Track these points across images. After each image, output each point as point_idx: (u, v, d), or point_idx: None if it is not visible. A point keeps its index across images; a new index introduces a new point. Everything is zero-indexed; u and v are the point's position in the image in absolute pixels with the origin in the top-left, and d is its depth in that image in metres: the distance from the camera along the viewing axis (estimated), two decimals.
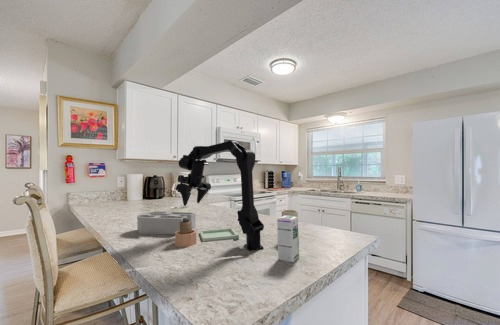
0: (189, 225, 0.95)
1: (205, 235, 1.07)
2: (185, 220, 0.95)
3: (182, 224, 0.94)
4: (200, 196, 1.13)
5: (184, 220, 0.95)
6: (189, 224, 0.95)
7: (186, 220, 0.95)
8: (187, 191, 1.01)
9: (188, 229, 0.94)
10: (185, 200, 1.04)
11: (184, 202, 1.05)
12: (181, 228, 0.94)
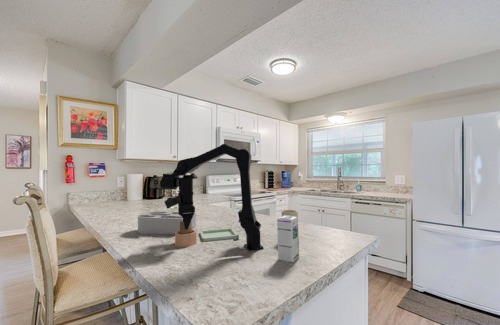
0: (189, 225, 0.95)
1: (205, 235, 1.07)
2: None
3: (182, 224, 0.94)
4: None
5: None
6: None
7: None
8: (194, 210, 0.90)
9: (188, 229, 0.94)
10: (188, 222, 0.91)
11: (186, 225, 0.91)
12: (181, 228, 0.94)
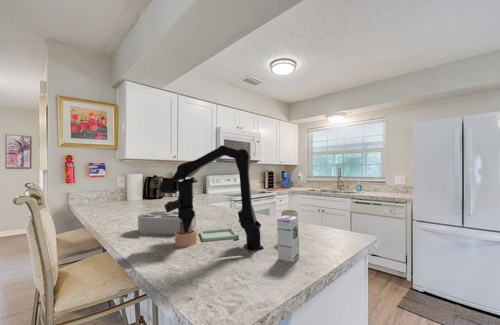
0: None
1: (205, 235, 1.07)
2: None
3: (182, 224, 0.94)
4: None
5: None
6: None
7: None
8: (194, 214, 0.90)
9: (188, 229, 0.94)
10: (188, 225, 0.93)
11: (186, 228, 0.93)
12: (181, 228, 0.94)
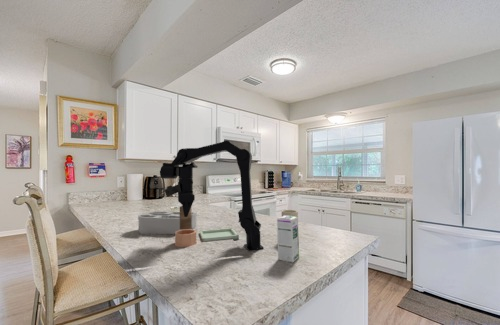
0: None
1: (205, 235, 1.07)
2: None
3: (182, 209, 0.94)
4: None
5: None
6: None
7: None
8: None
9: (188, 214, 0.95)
10: (188, 210, 0.93)
11: (186, 212, 0.93)
12: (181, 213, 0.94)
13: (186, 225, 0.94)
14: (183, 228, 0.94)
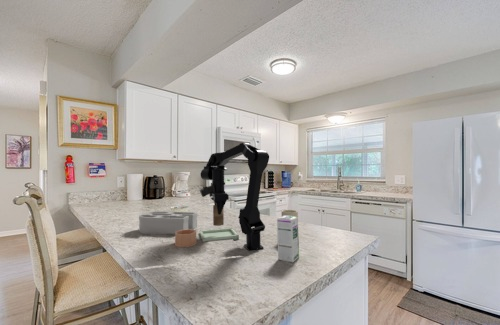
0: None
1: (205, 235, 1.07)
2: None
3: (216, 207, 1.05)
4: None
5: None
6: None
7: None
8: None
9: (221, 212, 1.06)
10: (221, 208, 1.04)
11: (219, 210, 1.04)
12: (215, 211, 1.05)
13: (219, 222, 1.05)
14: (217, 224, 1.05)
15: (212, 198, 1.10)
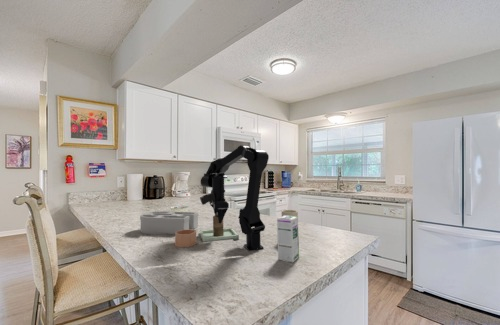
0: None
1: (205, 235, 1.07)
2: None
3: (215, 218, 1.05)
4: None
5: (217, 215, 1.06)
6: None
7: None
8: None
9: (221, 223, 1.05)
10: (222, 217, 1.02)
11: (220, 219, 1.02)
12: (214, 222, 1.05)
13: (219, 233, 1.05)
14: (217, 235, 1.05)
15: (211, 205, 1.12)
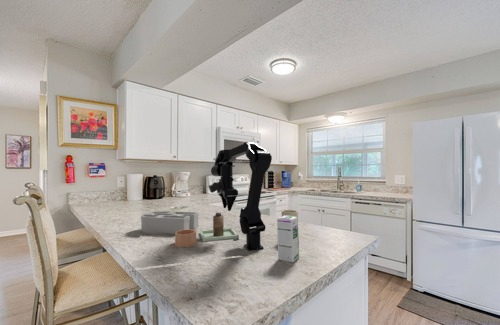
0: (222, 219, 1.06)
1: (205, 235, 1.07)
2: (218, 214, 1.06)
3: (216, 218, 1.05)
4: (226, 200, 1.13)
5: (217, 214, 1.06)
6: (222, 218, 1.06)
7: (219, 214, 1.06)
8: None
9: (221, 222, 1.06)
10: (231, 204, 1.03)
11: (229, 207, 1.03)
12: (215, 222, 1.05)
13: (219, 233, 1.05)
14: (217, 235, 1.05)
15: (219, 194, 1.13)
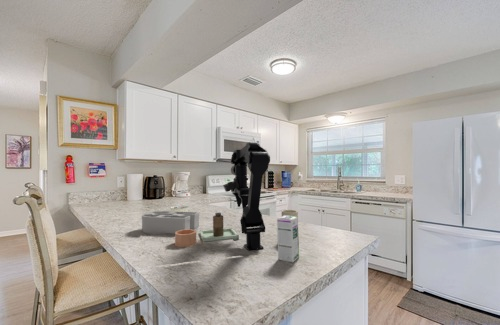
0: (221, 219, 1.06)
1: (205, 235, 1.07)
2: (218, 215, 1.06)
3: (215, 218, 1.05)
4: (240, 199, 1.15)
5: (217, 215, 1.06)
6: (221, 218, 1.06)
7: (219, 214, 1.06)
8: None
9: (221, 222, 1.05)
10: (246, 203, 1.05)
11: (244, 206, 1.05)
12: (215, 222, 1.05)
13: (219, 233, 1.05)
14: (217, 235, 1.05)
15: (234, 193, 1.14)
